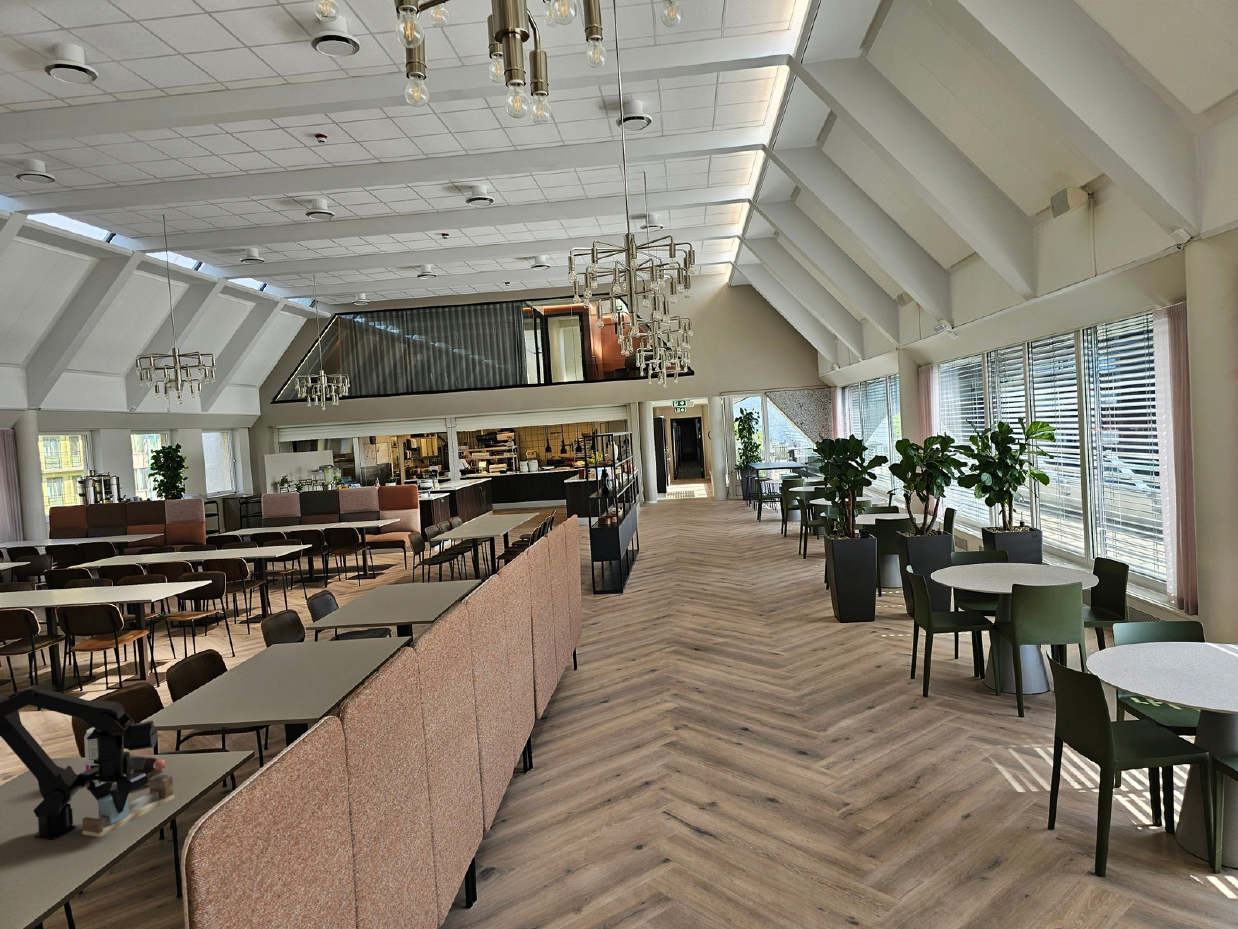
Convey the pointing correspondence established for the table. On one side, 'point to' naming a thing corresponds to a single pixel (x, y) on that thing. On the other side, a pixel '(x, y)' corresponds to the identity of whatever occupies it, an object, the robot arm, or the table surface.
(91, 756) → the supplement can
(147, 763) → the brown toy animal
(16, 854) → the table surface
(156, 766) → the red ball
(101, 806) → the light blue block
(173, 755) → the table surface
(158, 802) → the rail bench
